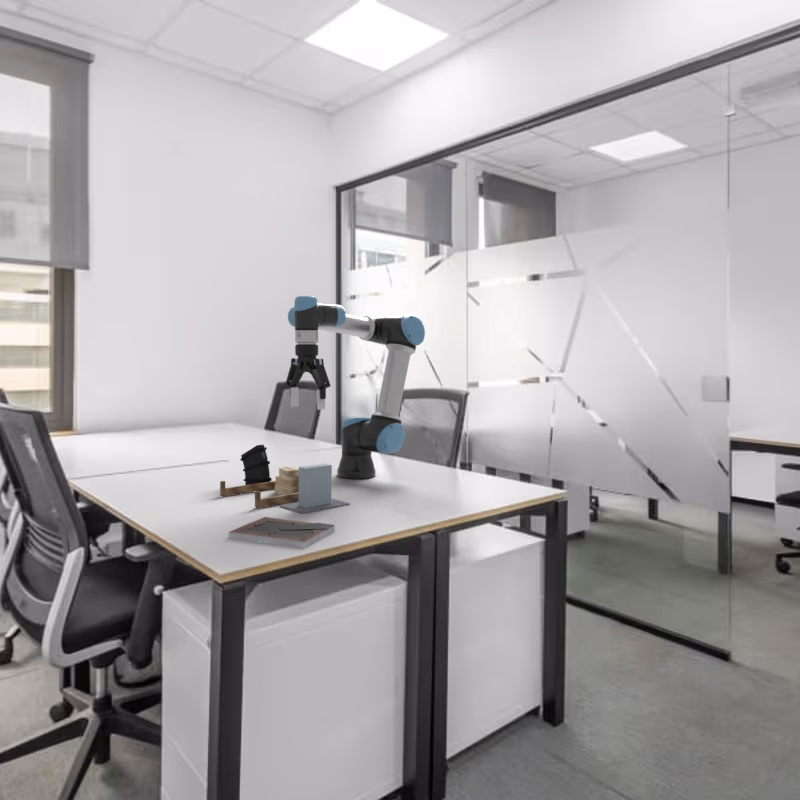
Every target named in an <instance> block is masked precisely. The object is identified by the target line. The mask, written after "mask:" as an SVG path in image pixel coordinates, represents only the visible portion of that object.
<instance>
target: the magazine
mask: <svg viewBox="0 0 800 800" xmlns="http://www.w3.org/2000/svg"><path fill="white" fill-rule="evenodd" d="M267 449H268V447H267V446H265V444H257V445H255V446H254V447H252V448H250V449H249V450H247V451H245V452H244V453H243V454H241V455H240V457H241V458H240V462H242V463H243V464H242V465H243V469H242V472H244V479H243V482H244V484H245V485H250V484H257V483H264V482H271V481H273V479H272V477H271V476H270V475H271V474H270V473H271V472H270V466H269V465H270V464H271V462H270V460H268V455H267V452H266V450H267Z"/></svg>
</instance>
